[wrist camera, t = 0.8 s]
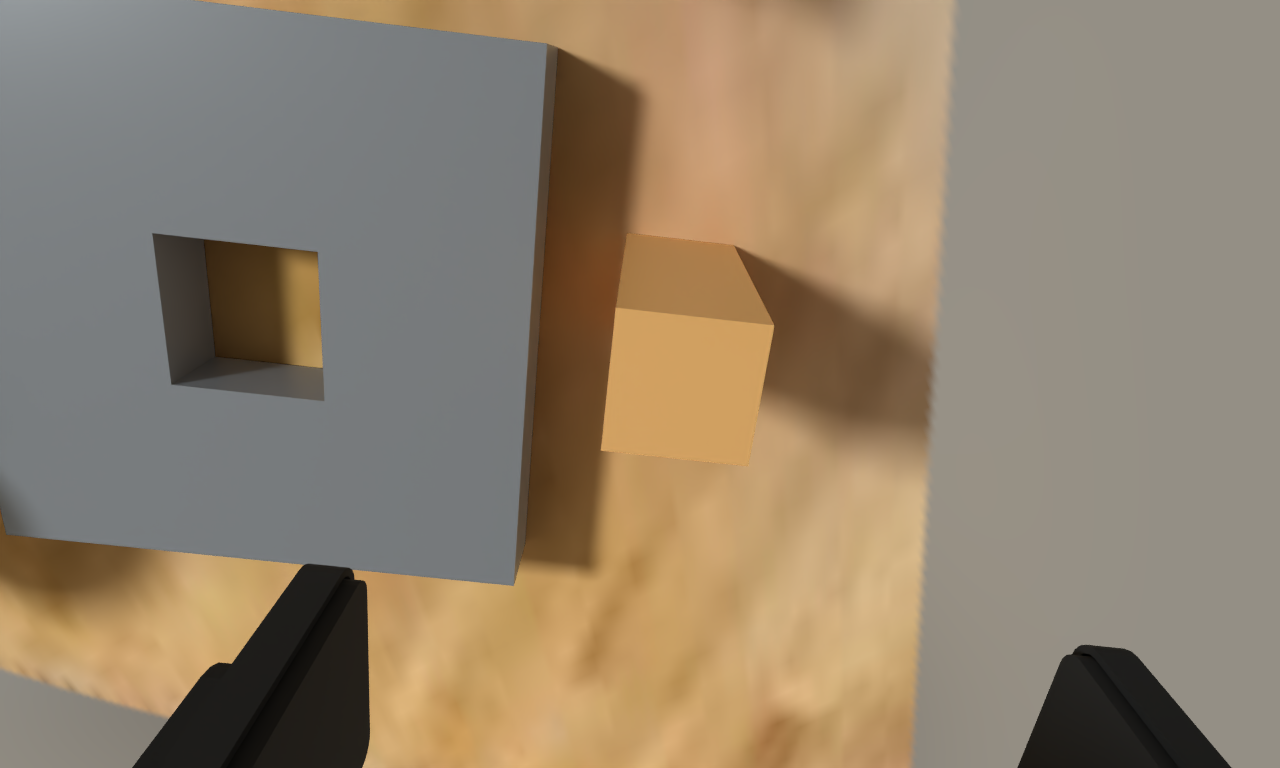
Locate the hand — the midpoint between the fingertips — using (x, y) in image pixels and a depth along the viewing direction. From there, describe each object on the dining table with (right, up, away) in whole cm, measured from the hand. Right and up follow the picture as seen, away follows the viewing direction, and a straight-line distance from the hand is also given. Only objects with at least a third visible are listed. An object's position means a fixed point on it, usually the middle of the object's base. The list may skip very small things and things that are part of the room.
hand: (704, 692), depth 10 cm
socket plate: (-15, +7, +19) cm, 25 cm away
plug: (0, +8, +19) cm, 20 cm away
